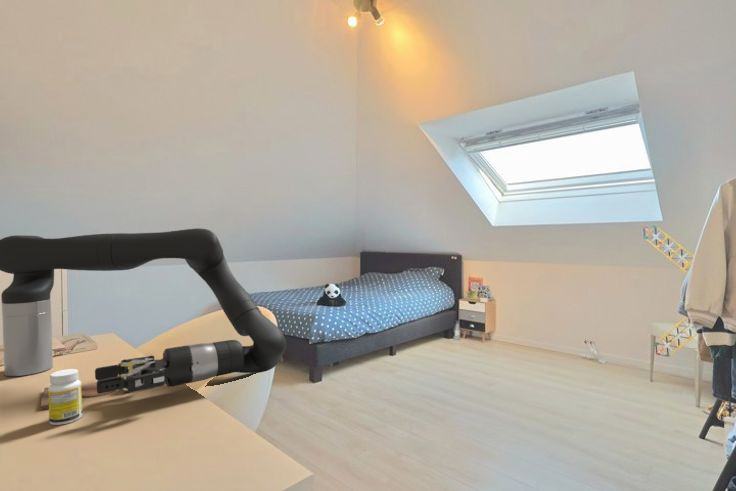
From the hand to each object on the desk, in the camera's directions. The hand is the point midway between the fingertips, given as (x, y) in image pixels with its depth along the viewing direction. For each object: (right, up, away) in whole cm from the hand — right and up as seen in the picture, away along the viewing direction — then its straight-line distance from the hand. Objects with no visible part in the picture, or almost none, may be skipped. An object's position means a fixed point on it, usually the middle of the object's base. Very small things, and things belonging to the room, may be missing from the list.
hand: (95, 380), depth 75 cm
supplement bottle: (-3, -6, -3) cm, 8 cm away
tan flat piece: (-7, -6, +12) cm, 15 cm away
